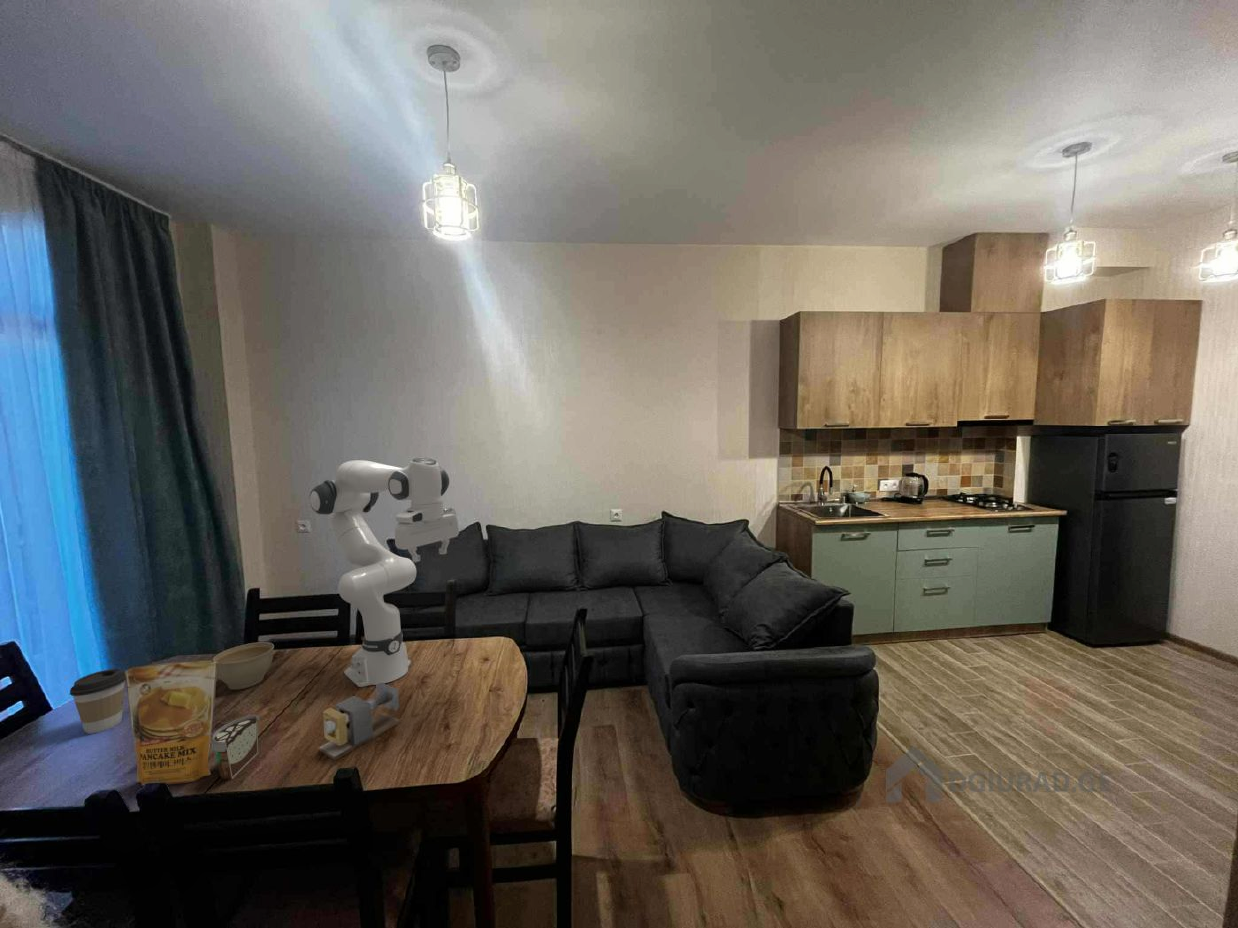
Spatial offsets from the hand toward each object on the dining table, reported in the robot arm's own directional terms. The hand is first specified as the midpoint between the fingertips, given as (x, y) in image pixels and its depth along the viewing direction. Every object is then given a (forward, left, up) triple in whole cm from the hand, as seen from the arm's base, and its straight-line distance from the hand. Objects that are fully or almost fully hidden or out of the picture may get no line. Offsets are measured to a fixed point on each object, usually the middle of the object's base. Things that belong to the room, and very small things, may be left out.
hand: (430, 557), depth 144 cm
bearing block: (-5, -23, -45) cm, 51 cm away
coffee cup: (-78, -56, -45) cm, 106 cm away
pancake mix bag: (-30, -53, -45) cm, 76 cm away
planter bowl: (-69, -24, -45) cm, 85 cm away
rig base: (-5, -22, -45) cm, 50 cm away
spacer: (-5, -28, -38) cm, 48 cm away
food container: (-22, -45, -45) cm, 67 cm away
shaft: (-5, -21, -41) cm, 46 cm away
